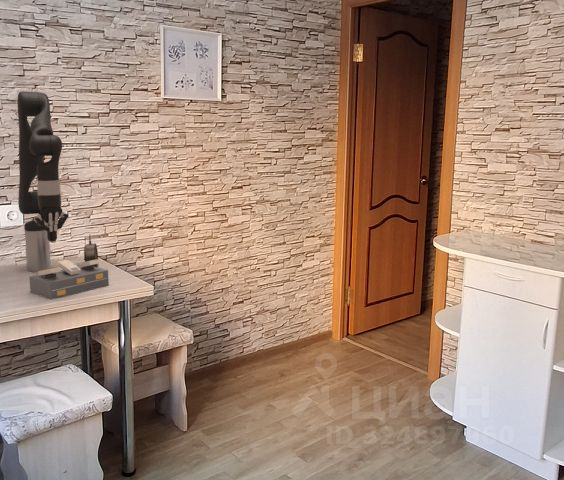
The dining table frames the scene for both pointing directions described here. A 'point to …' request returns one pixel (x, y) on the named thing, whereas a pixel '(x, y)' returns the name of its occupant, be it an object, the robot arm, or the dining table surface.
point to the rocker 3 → (88, 263)
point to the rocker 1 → (49, 271)
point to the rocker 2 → (69, 267)
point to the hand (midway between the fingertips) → (52, 241)
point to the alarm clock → (90, 252)
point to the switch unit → (68, 282)
